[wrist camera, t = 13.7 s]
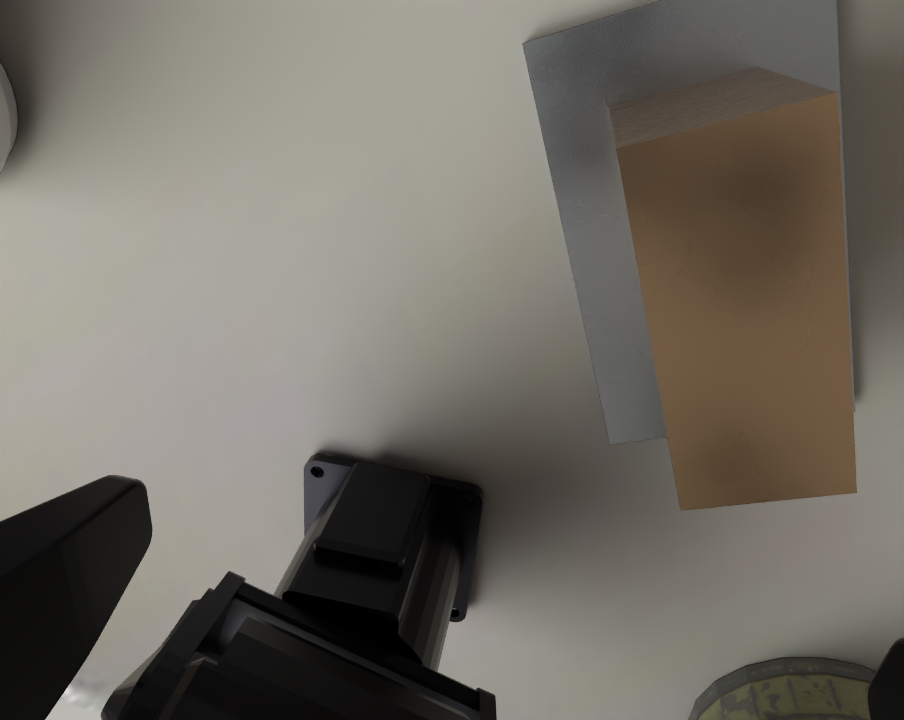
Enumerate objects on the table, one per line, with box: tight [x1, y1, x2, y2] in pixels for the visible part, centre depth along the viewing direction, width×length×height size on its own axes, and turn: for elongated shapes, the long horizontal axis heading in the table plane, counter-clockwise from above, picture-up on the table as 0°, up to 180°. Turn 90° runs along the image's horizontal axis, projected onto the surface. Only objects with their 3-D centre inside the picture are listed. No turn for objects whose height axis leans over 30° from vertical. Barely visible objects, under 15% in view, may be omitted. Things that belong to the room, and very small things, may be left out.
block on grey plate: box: [522, 0, 857, 511], centre depth 16 cm, size 12×7×7 cm, turn 16°
